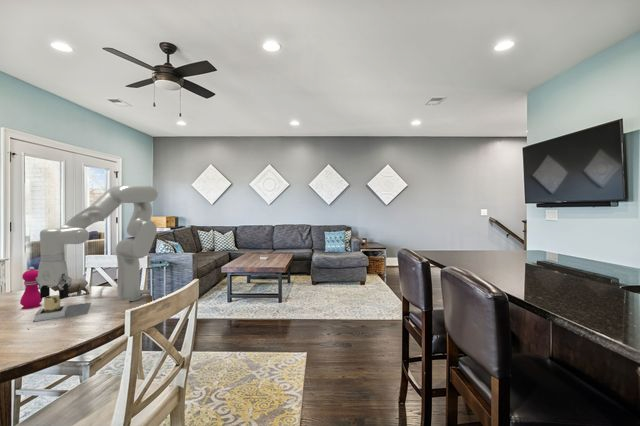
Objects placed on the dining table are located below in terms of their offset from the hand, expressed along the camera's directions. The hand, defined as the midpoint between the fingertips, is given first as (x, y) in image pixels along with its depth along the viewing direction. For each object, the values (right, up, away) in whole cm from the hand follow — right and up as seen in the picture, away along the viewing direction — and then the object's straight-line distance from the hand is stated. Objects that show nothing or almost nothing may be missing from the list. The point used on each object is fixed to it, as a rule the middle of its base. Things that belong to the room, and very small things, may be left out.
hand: (54, 297), depth 120 cm
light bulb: (0, -8, -1) cm, 8 cm away
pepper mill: (-20, -9, +10) cm, 24 cm away
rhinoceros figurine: (-21, -9, +30) cm, 38 cm away
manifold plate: (0, -9, +5) cm, 10 cm away
